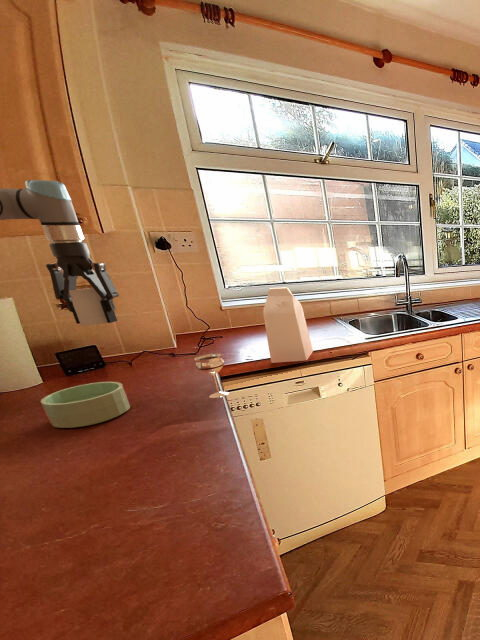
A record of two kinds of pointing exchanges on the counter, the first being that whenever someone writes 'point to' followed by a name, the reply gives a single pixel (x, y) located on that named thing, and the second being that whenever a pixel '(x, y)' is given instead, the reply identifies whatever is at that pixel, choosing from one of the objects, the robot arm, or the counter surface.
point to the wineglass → (211, 369)
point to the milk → (286, 327)
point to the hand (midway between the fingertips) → (97, 322)
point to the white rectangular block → (88, 306)
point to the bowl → (85, 404)
